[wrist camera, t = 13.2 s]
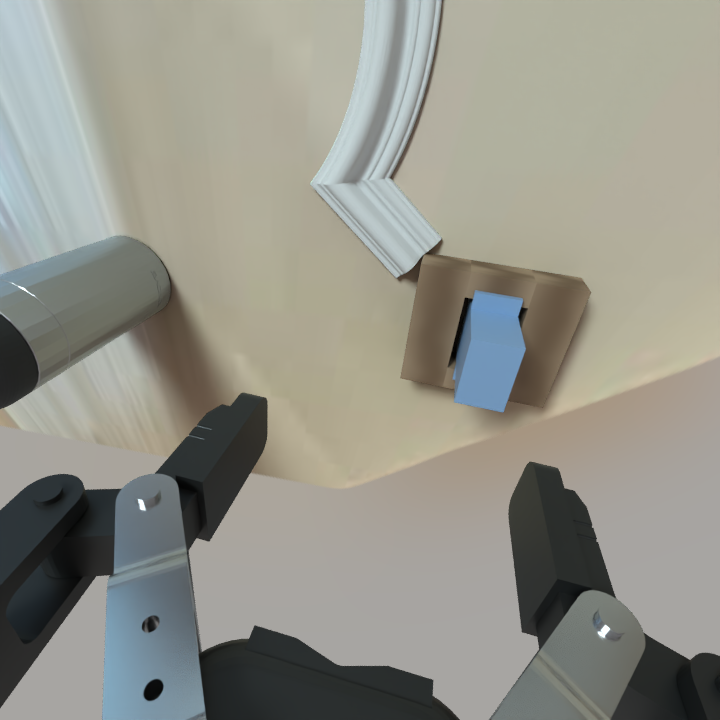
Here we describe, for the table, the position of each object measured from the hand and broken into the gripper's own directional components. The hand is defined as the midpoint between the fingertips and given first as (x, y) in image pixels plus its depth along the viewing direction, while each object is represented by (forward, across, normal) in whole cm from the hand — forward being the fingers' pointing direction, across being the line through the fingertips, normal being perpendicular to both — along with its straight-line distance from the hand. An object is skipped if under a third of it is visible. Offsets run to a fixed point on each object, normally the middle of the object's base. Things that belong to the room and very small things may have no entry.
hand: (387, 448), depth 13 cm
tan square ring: (+29, -6, +8) cm, 31 cm away
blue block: (+29, -6, +8) cm, 31 cm away
